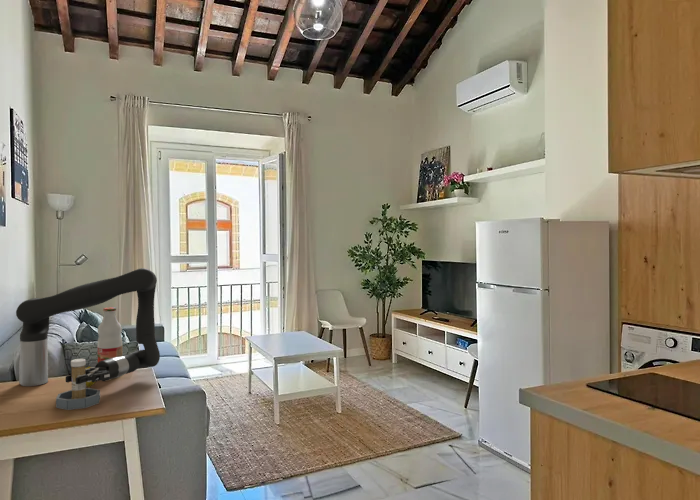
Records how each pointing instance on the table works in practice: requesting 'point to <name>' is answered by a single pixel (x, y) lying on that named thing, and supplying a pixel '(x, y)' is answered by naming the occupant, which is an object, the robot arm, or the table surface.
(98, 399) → the bowl
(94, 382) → the lemon
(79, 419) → the table surface
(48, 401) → the table surface
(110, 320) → the fruit juice
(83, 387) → the spice jar
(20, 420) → the table surface
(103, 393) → the table surface
